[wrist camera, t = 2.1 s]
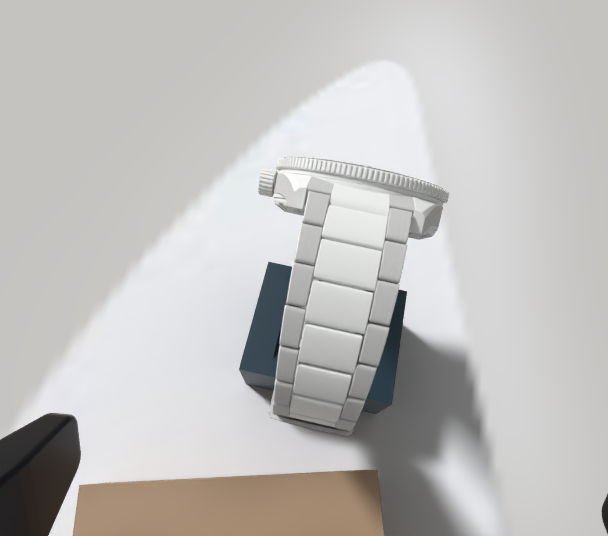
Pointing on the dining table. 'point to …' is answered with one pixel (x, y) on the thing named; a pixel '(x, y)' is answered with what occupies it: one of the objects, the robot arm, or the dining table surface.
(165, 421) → the dining table surface
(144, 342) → the dining table surface
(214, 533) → the plinth
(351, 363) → the watch
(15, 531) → the robot arm
